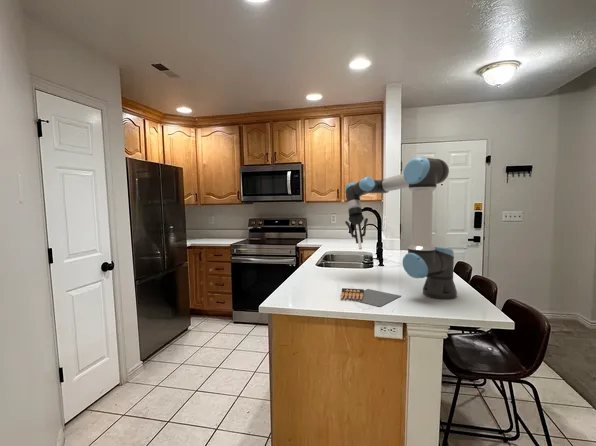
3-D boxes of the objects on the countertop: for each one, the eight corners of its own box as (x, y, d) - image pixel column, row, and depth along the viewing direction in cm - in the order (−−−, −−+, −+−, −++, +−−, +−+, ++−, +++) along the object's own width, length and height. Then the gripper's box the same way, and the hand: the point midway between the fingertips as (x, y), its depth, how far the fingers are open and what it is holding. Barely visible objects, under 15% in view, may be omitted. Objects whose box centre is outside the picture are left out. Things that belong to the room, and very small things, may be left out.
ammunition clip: (363, 289, 153) (363, 297, 141) (363, 292, 153) (363, 301, 142) (342, 288, 155) (339, 296, 144) (342, 291, 156) (339, 300, 144)
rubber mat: (400, 296, 149) (401, 295, 149) (380, 307, 134) (380, 306, 134) (367, 289, 161) (367, 288, 161) (345, 298, 147) (345, 297, 147)
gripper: (366, 209, 181) (372, 248, 173) (343, 212, 183) (349, 251, 175) (366, 204, 174) (372, 245, 166) (342, 208, 176) (348, 248, 168)
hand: (360, 248), depth 171 cm, fingers closed
